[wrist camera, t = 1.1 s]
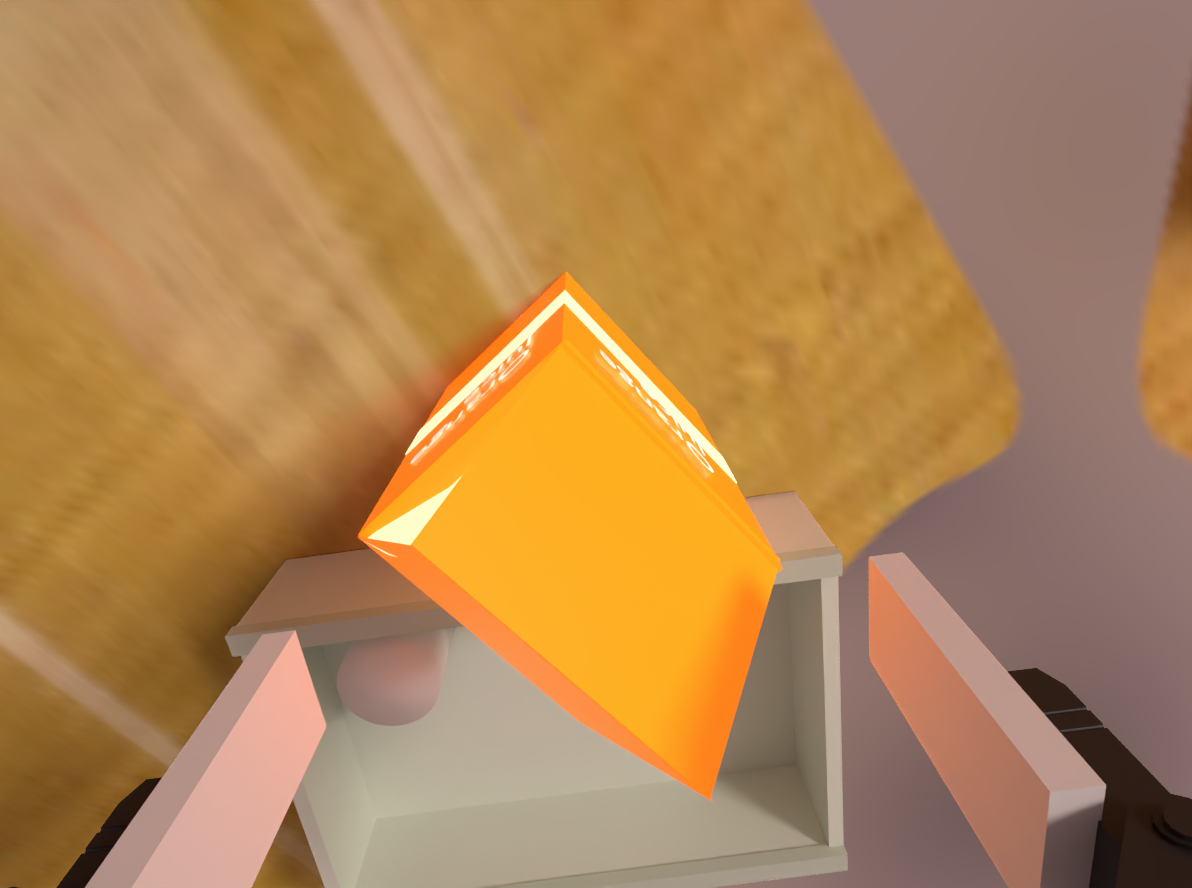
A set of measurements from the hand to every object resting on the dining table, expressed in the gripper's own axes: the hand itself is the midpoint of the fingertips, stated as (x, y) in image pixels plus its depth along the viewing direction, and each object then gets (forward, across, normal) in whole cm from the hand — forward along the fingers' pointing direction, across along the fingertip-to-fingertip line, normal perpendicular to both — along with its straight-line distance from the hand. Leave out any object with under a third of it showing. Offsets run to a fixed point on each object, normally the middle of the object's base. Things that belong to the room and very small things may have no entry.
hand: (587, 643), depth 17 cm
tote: (+18, -3, -14) cm, 23 cm away
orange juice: (+18, 0, +1) cm, 18 cm away
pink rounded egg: (+17, -10, -9) cm, 22 cm away
